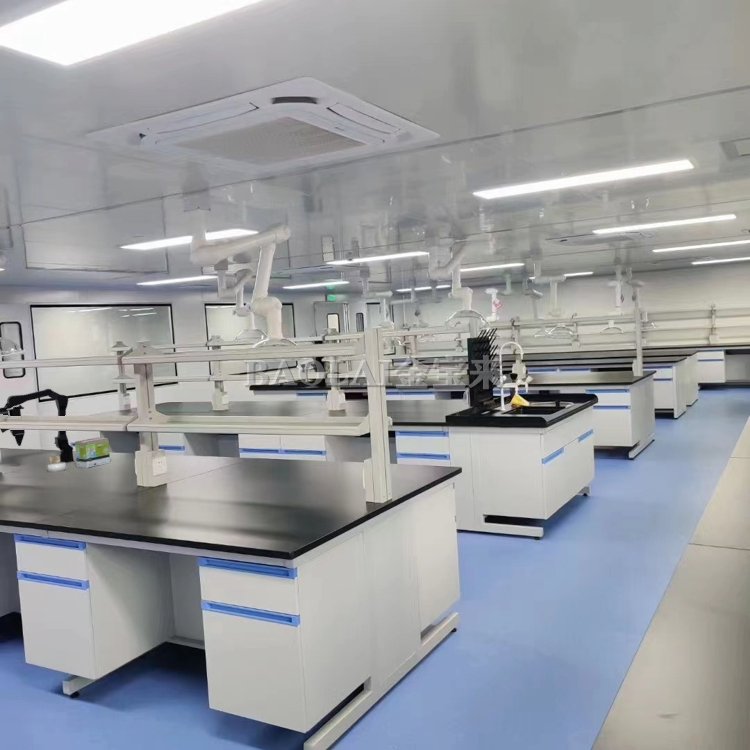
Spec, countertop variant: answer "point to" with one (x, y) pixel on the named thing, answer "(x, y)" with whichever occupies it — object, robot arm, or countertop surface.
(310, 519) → the countertop surface
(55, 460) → the birch block
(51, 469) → the ceramic puck
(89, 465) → the tea box
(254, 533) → the countertop surface
